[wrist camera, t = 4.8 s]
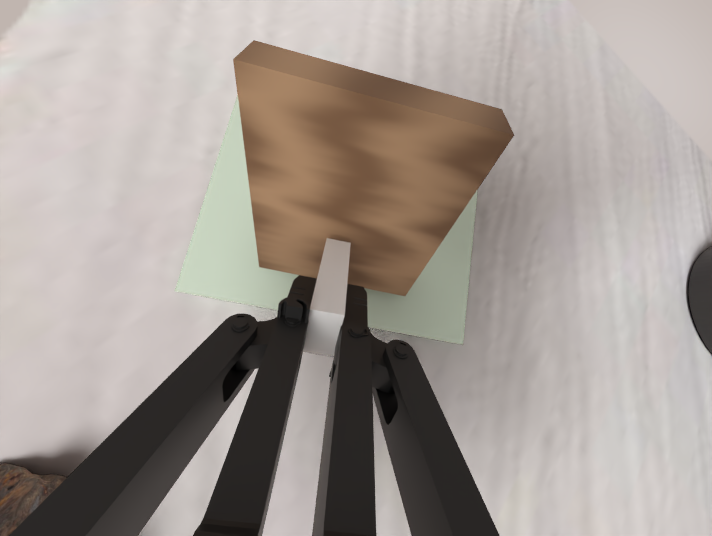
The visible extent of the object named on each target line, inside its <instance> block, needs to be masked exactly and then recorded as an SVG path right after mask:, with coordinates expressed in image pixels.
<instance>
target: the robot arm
mask: <svg viewBox="0 0 712 536" xmlns="http://www.w3.org/2000/svg"><path fill="white" fill-rule="evenodd" d="M350 245H351V243H349V242H344V241H339V240H334V239H329V238H327V240H326V244H325V248H324V252H323V256H322V260H321V264H320V269H319V273H318V277H317V278H312V277H307V276H302V275H299V276H298V277H297V278H295V279H294V280H293V283H292V286H291V288H290V291H289V294H288V297H287V298H284V299H283V300H281V301H280V303H279V305H278V316H277V317H276V318H275V319H272V320H269V321H259V322H257V321H256V319H255V318H254V317H252V316H251V315H248V314H236V315H233V316H230V317H229V318H227V319H226V320H225V321H224V322H223V323H222V324H221V325H220V326H219V327H218V328H217V329H216V330H215V331H214V332H213V333H212V334H211V335H210V336H209V337H208V338H207V339H206V340H205V341H204V342H203V343H202V344H201V345H200V346H199V347H198V348H197V349H196V350H195V351H194V352H193V353H192V354H191V355H190V356H189V357H188V358H187V359H186V360H185V361H184V362H183V363H182V364H181V365H180V366H179V367H178V368H177V369H176V370H175V371H174V372H173V373H172V374H171V375H170V376H169V377H168V378H167V379H166V380H165V381H164V382H163V383H162V384H161V385H160V386H159V387H158V388H157V389H156V390H155V391H154V392H153V393H152V394H151V395H150V396H149V397H148V398H147V399H146V400H145V401H144V402H143V403H142V404H141V405H140V406H139V407H138V408H137V409H136V410H135V411H134V412H133V413H132V414H131V415H130V416H129V417H128V418H127V419H126V420H125V421H123V422H122V423H121V424H120V425H119V426H118V427H117V428H116V429H115V430H114V431H113V432H112V433H111V434H110V435H109V436H108V437H107V438H106V439H105V440H104V441H103V442H102V443H101V444H100V445H99V446H98V447H97V448H96V449H95V450H94V451H93V452H92V453H91V454H90V455H89V456H88V457H87V458H86V459H85V460H84V461H83V462H82V463H81V464H80V465H79V466H78V467H77V468H76V469H75V470H74V471H73V472H72V473H71V474H70V475H69V476H68V477H67V478H66V479H65V480H64V481H63V482H62V483H61V484H60V485H59V486H58V487H57V488H56V489H55V490H54V491H53V492H52V493H51V494H50V495H49V496H48V497H47V498H46V499H45V500H44V501H43V502H42V503H41V504H40V505H39V506H38V507H37V508H36V509H35V510H34V511H33V512H32V513H31V514H30V515H29V516H28V517H27V518H26V519H25V520H24V521H23V522H22V523H21V524H20V525H19V526H18V527H17V528H16V529H15V530H14V531H13V532H12V533H11V534H10V535H9V536H138V534H139V533H140V532H141V530H142V529H143V527H144V526H145V525H146V523H147V522H148V520H149V519H150V517H151V516H152V515H153V513H154V512H155V510H156V509H157V507H158V506H159V505H160V503H161V502H162V500H163V499H164V498H165V496H166V495H167V493H168V492H169V490H170V489H171V488H172V486H173V485H174V483H175V482H176V481H177V479H178V478H179V476H180V475H181V473H182V472H183V471H184V469H185V468H186V466H187V465H188V463H189V462H190V461H191V459H192V458H193V456H194V455H195V454H196V452H197V451H198V449H199V448H200V446H201V445H202V444H203V442H204V441H205V439H206V438H207V437H208V435H209V434H210V432H211V431H212V429H213V428H214V427H215V425H216V424H217V422H218V421H219V419H220V418H221V417H222V415H223V414H224V412H225V411H226V410H227V408H228V407H229V405H230V404H231V402H232V401H233V400H234V398H235V397H236V395H237V394H238V393H239V391H240V390H241V388H242V387H243V385H244V384H245V383H246V381H247V380H248V378H249V377H250V376H251V374H252V373H253V371H254V369H257V368H259V369H258V372H257V375H256V377H255V380H254V383H253V385H252V388H251V391H250V394H249V396H248V399H247V402H246V405H245V407H244V410H243V413H242V415H241V418H240V421H239V424H238V426H237V429H236V432H235V434H234V437H233V440H232V443H231V445H230V448H229V451H228V453H227V456H226V459H225V462H224V464H223V467H222V470H221V472H220V475H219V478H218V481H217V483H216V486H215V489H214V492H213V494H212V497H211V500H210V502H209V505H208V508H207V511H206V513H205V516H204V518H203V520H202V522H201V524H200V525H199V527H198V528H197V529H196V531H195V533H194V535H193V536H262V533H263V528H264V524H265V519H266V515H267V511H268V506H269V502H270V497H271V493H272V488H273V484H274V479H275V475H276V470H277V466H278V461H279V457H280V453H281V448H282V444H283V439H284V435H285V430H286V426H287V421H288V417H289V412H290V408H291V403H292V399H293V395H294V390H295V386H296V381H297V377H298V372H299V368H300V363H301V358H302V353H303V352H307V353H313V354H319V355H325V356H331V357H334V361H333V364H332V368H331V372H330V375H329V377H331V378H330V387H329V395H328V404H327V413H326V421H325V430H324V438H323V447H322V455H321V464H320V473H319V481H318V490H317V498H316V507H315V515H314V524H313V533H312V536H376V513H375V474H374V435H373V396H374V400H375V403H376V407H377V411H378V414H379V418H380V422H381V425H382V429H383V433H384V436H385V440H386V444H387V447H388V451H389V455H390V458H391V462H392V465H393V469H394V473H395V476H396V480H397V484H398V487H399V491H400V495H401V498H402V502H403V506H404V509H405V513H406V517H407V520H408V524H409V528H410V531H411V535H412V536H499V534H498V531H497V529H496V527H495V525H494V523H493V521H492V518H491V516H490V514H489V512H488V510H487V508H486V505H485V503H484V501H483V499H482V497H481V494H480V492H479V490H478V488H477V486H476V484H475V481H474V479H473V477H472V475H471V473H470V471H469V468H468V466H467V464H466V462H465V460H464V458H463V455H462V453H461V451H460V449H459V447H458V445H457V442H456V440H455V438H454V436H453V434H452V431H451V429H450V427H449V425H448V423H447V421H446V418H445V416H444V414H443V412H442V410H441V408H440V405H439V403H438V401H437V399H436V397H435V395H434V392H433V390H432V388H431V386H430V384H429V382H428V379H427V377H426V375H425V373H424V371H423V369H422V366H421V364H420V362H419V360H418V358H417V355H416V353H415V351H414V350H413V348H412V347H411V346H410V345H409V344H408V343H406V342H404V341H401V340H392V341H390V342H389V343H388V344H387V343H385V342H383V341H380V340H378V339H377V338H375V337H374V336H373V335H372V334H371V333H370V330H369V329H368V311H367V292H366V290H365V289H364V287H362V286H357V285H352V284H347V281H348V269H349V257H350ZM689 303H690V308H691V313H692V316H693V320H694V322H695V325H696V328H697V330H698V332H699V334H700V336H701V338H702V340H703V342H704V343H705V345H706V346H707V348H708V349H709V351H710V352H711V353H712V246H711V247H710V248H708V249H707V250H705V251H704V252H703V253H702V254H701V255H700V256H699V258H698V259H697V260H696V262H695V264H694V266H693V269H692V272H691V275H690V280H689ZM372 393H373V396H372Z"/></svg>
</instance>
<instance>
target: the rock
mask: <svg viewBox="0 0 712 536" xmlns="http://www.w3.org/2000/svg"><path fill="white" fill-rule="evenodd" d="M65 479H66V477H65V476H61V475H56V474H49V475H37V474H31V473H30V472H29V471H28V470H27V469H26V468H24V467H20V466H15V465H13V464H7V463H3V464H0V536H9V535H10V534H11V533H12V532H13V531H14V530H15V529H16V528H17V527H18V526H19V525H20V524H21V523H22V522H23V521H24V520H25V519H26V518H27V517H28V516H29V515H30V514H31V513H32V512H33V511H34V510H35V509H36V508H37V507H38V506H39V505H40V504H41V503H42V502H43V501H44V500H45V499H46V498H47V497H48V496H49V495H50V494H51V493H52V492H53V491H54V490H55V489H56V488H57V487H58V486H59V485H60V484H61V483H62V482H63V481H64V480H65Z"/></svg>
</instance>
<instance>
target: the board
mask: <svg viewBox="0 0 712 536" xmlns="http://www.w3.org/2000/svg"><path fill="white" fill-rule="evenodd" d="M233 61H234V69H235V77H236V85H237V93H238V101H239V109H240V117H241V125H242V133H243V141H244V149H245V157H246V165H247V173H248V181H249V189H250V197H251V205H252V213H253V221H254V229H255V238H256V246H257V254H258V262H259V267H261V268H266V269H271V270H276V271H281V272H286V273H291V274H296V275H302V276H307V277H312V278H317V277H318V273H319V269H320V264H321V260H322V256H323V252H324V248H325V244H326V240H327V238H329V239H334V240H339V241H344V242H349V243H351V245H350V257H349V269H348V281H347V284H352V285H357V286H362V287H364V288H366V289H371V290H376V291H381V292H386V293H391V294H396V295H401V296H406V294H407V293H408V291H409V290H410V289H411V287H412V286H413V284H414V283H415V281H416V280H417V278H418V277H419V275H420V274H421V272H422V271H423V269H424V268H425V266H426V265H427V263H428V262H429V260H430V259H431V257H432V256H433V254H434V253H435V252H436V250H437V249H438V247H439V246H440V244H441V243H442V241H443V240H444V238H445V237H446V235H447V234H448V232H449V231H450V229H451V228H452V226H453V225H454V223H455V222H456V220H457V219H458V217H459V216H460V215H461V213H462V212H463V210H464V209H465V207H466V206H467V204H468V203H469V201H470V200H471V198H472V197H473V195H474V194H475V192H476V191H477V189H478V188H479V186H480V185H481V183H482V182H483V180H484V179H485V178H486V176H487V175H488V173H489V172H490V170H491V169H492V167H493V166H494V164H495V163H496V161H497V160H498V158H499V157H500V155H501V154H502V152H503V151H504V149H505V148H506V146H507V145H508V143H509V142H510V140H511V139H512V138H513V136H514V134H513V132H512V130H511V127H510V125H509V123H508V121H507V119H506V117H505V115H504V113H503V111H502V109H498V108H495V107H491V106H488V105H484V104H480V103H477V102H473V101H470V100H466V99H463V98H459V97H455V96H452V95H448V94H445V93H441V92H437V91H434V90H430V89H427V88H423V87H419V86H416V85H412V84H409V83H405V82H402V81H398V80H394V79H391V78H387V77H384V76H380V75H376V74H373V73H369V72H366V71H362V70H358V69H355V68H351V67H348V66H344V65H340V64H337V63H333V62H330V61H326V60H323V59H319V58H315V57H312V56H308V55H305V54H301V53H297V52H294V51H290V50H287V49H283V48H279V47H276V46H272V45H269V44H265V43H262V42H258V41H253V42H252V43H250V44H249V45H248V46H247V47H246V48H245V49H244V50H243V51H242V52H241V53H240V54H239V55H237V56H236V57H235V58H234V59H233Z"/></svg>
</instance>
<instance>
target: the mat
mask: <svg viewBox="0 0 712 536" xmlns="http://www.w3.org/2000/svg"><path fill="white" fill-rule="evenodd" d="M477 192H478V189H477V191H476V192H475V194H474V195H473V197H472V198H471V200H470V201H469V203H468V204H467V206H466V207H465V209H464V210H463V212H462V213H461V215H460V216H459V217H458V219H457V220H456V222H455V223H454V225H453V226H452V228H451V229H450V231H449V232H448V234H447V235H446V237H445V238H444V240H443V241H442V243H441V244H440V246H439V247H438V249H437V250H436V252H435V253H434V254H433V256H432V257H431V259H430V260H429V262H428V263H427V265H426V266H425V268H424V269H423V271H422V272H421V274H420V275H419V277H418V278H417V280H416V281H415V283H414V284H413V286H412V287H411V289H410V290H409V291H408V293H407V294H406V296H401V295H396V294H391V293H386V292H381V291H376V290H371V289H366V288H364V289H365V290H366V292H367V311H368V327H370V328H375V329H380V330H386V331H391V332H396V333H402V334H407V335H413V336H418V337H423V338H429V339H434V340H439V341H445V342H450V343H456V344H461V345H463V339H464V329H465V318H466V308H467V297H468V287H469V276H470V266H471V255H472V245H473V234H474V224H475V213H476V202H477ZM298 276H299V275H296V274H291V273H286V272H281V271H276V270H271V269H266V268H261V267H259V262H258V254H257V246H256V238H255V229H254V221H253V213H252V205H251V197H250V189H249V181H248V173H247V165H246V157H245V149H244V141H243V133H242V125H241V117H240V109H239V101H238V95H237V99H236V102H235V105H234V108H233V111H232V114H231V117H230V120H229V123H228V127H227V130H226V133H225V136H224V139H223V142H222V145H221V148H220V151H219V155H218V158H217V161H216V164H215V167H214V170H213V173H212V176H211V180H210V183H209V186H208V189H207V192H206V195H205V198H204V201H203V204H202V208H201V211H200V214H199V217H198V220H197V223H196V226H195V229H194V233H193V236H192V239H191V242H190V245H189V248H188V251H187V254H186V257H185V261H184V264H183V267H182V270H181V273H180V276H179V279H178V282H177V286H176V289H175V291H177V292H182V293H187V294H192V295H198V296H203V297H208V298H214V299H219V300H225V301H230V302H235V303H241V304H246V305H251V306H257V307H262V308H268V309H273V310H278V305H279V303H280V301H281V300H283V299H284V298H287V297H288V294H289V291H290V288H291V286H292V283H293V280H294V279H295V278H297V277H298Z"/></svg>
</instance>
